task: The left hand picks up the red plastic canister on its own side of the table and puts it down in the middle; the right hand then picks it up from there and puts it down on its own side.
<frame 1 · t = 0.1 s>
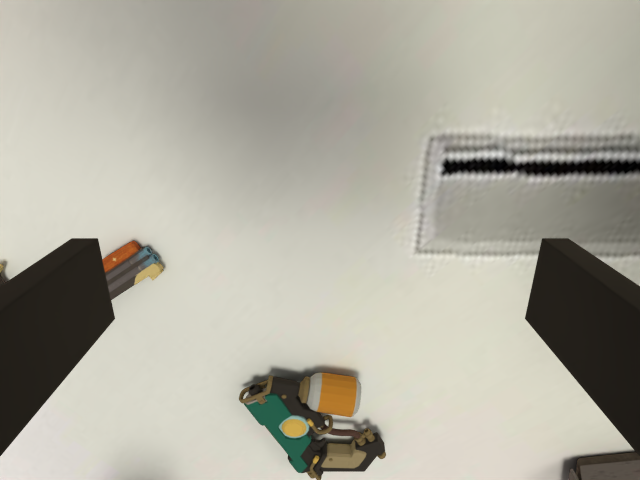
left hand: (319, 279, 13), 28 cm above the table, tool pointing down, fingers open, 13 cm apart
spray gun: (315, 415, 51), on the table
toy gun: (69, 274, 44), on the table
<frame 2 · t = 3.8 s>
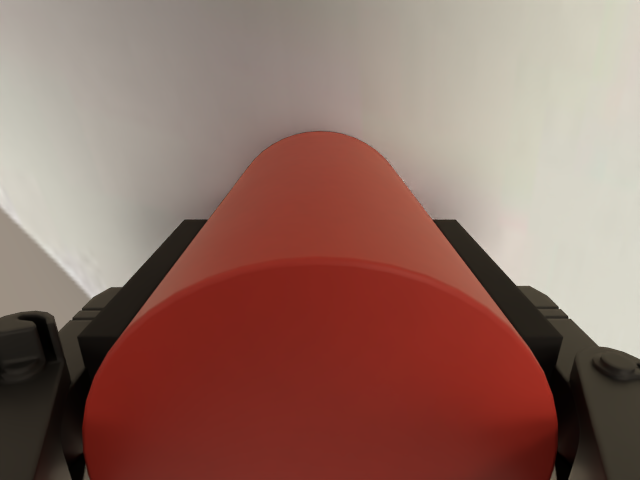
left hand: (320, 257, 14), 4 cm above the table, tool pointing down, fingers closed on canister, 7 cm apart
canister: (320, 219, 18), on the table, touching left hand
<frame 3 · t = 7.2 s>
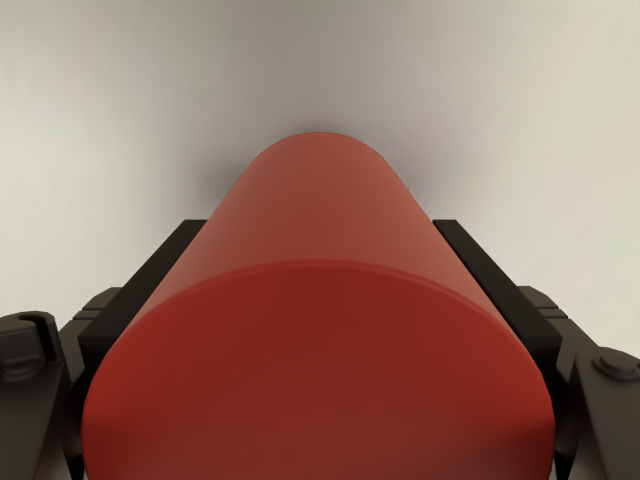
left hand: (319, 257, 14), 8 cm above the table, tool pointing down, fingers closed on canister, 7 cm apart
canister: (319, 220, 18), point 4 cm above the table, touching left hand
when the left hand's fingers open (5 cm above the table, at t = 10.7 s): canister drops 1 cm, on the table.
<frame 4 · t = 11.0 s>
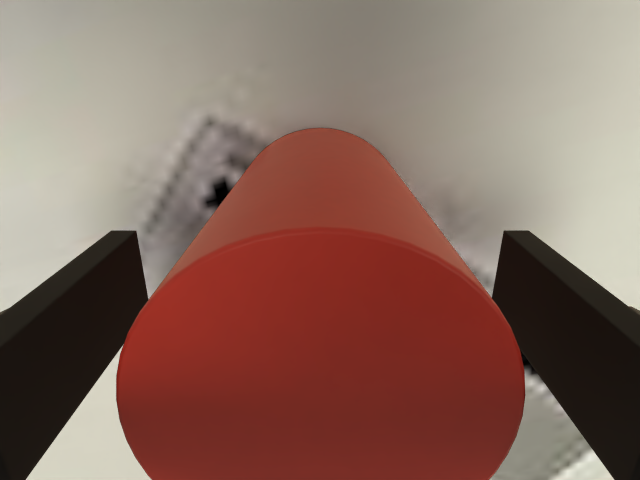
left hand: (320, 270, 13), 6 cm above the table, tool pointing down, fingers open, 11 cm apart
canister: (320, 211, 19), on the table
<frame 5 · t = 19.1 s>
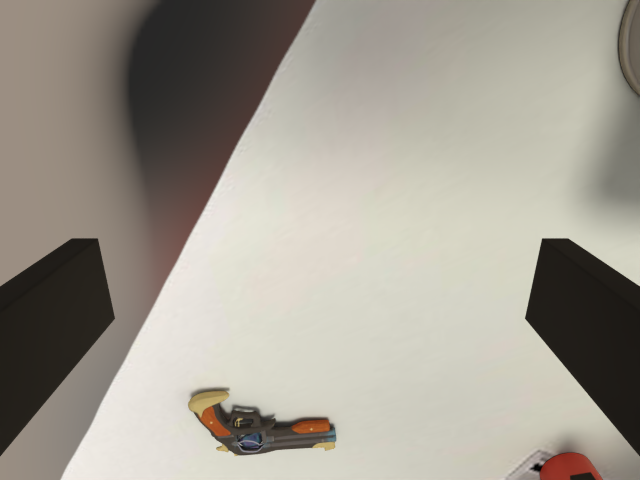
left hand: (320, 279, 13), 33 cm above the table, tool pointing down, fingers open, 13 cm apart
canister: (565, 471, 61), on the table, touching right hand
toy gun: (265, 415, 57), on the table
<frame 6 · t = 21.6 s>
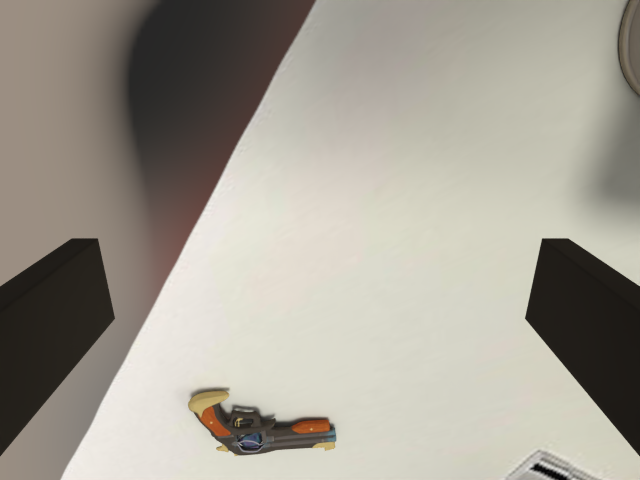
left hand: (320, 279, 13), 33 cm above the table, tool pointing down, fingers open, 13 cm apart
toy gun: (265, 415, 57), on the table
when the right hand's fingers open (5 cm above the table, at t = 24.4 s): canister drops 1 cm, on the table.
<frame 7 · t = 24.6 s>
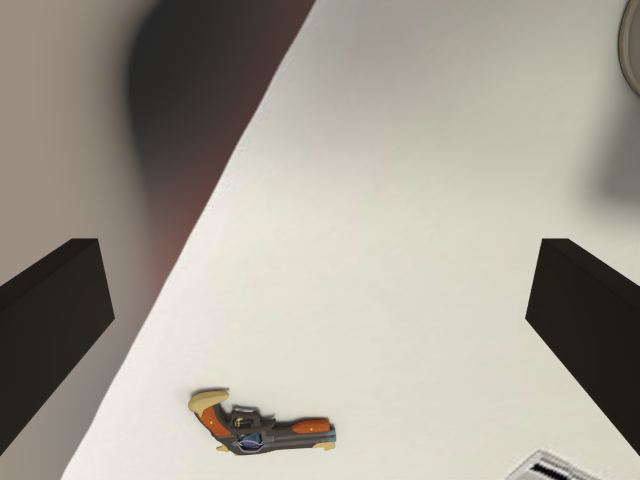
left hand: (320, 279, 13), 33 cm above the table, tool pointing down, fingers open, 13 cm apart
toy gun: (265, 415, 57), on the table
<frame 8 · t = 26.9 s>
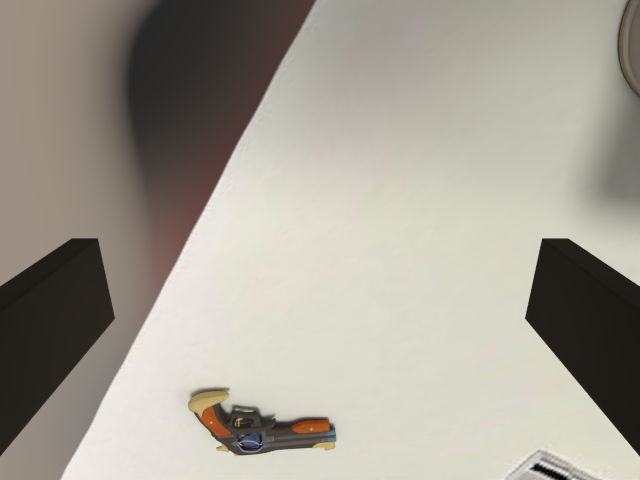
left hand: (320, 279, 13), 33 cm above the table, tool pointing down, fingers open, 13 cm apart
toy gun: (265, 415, 57), on the table
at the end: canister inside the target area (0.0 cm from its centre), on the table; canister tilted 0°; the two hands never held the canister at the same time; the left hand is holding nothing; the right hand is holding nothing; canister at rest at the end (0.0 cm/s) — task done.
